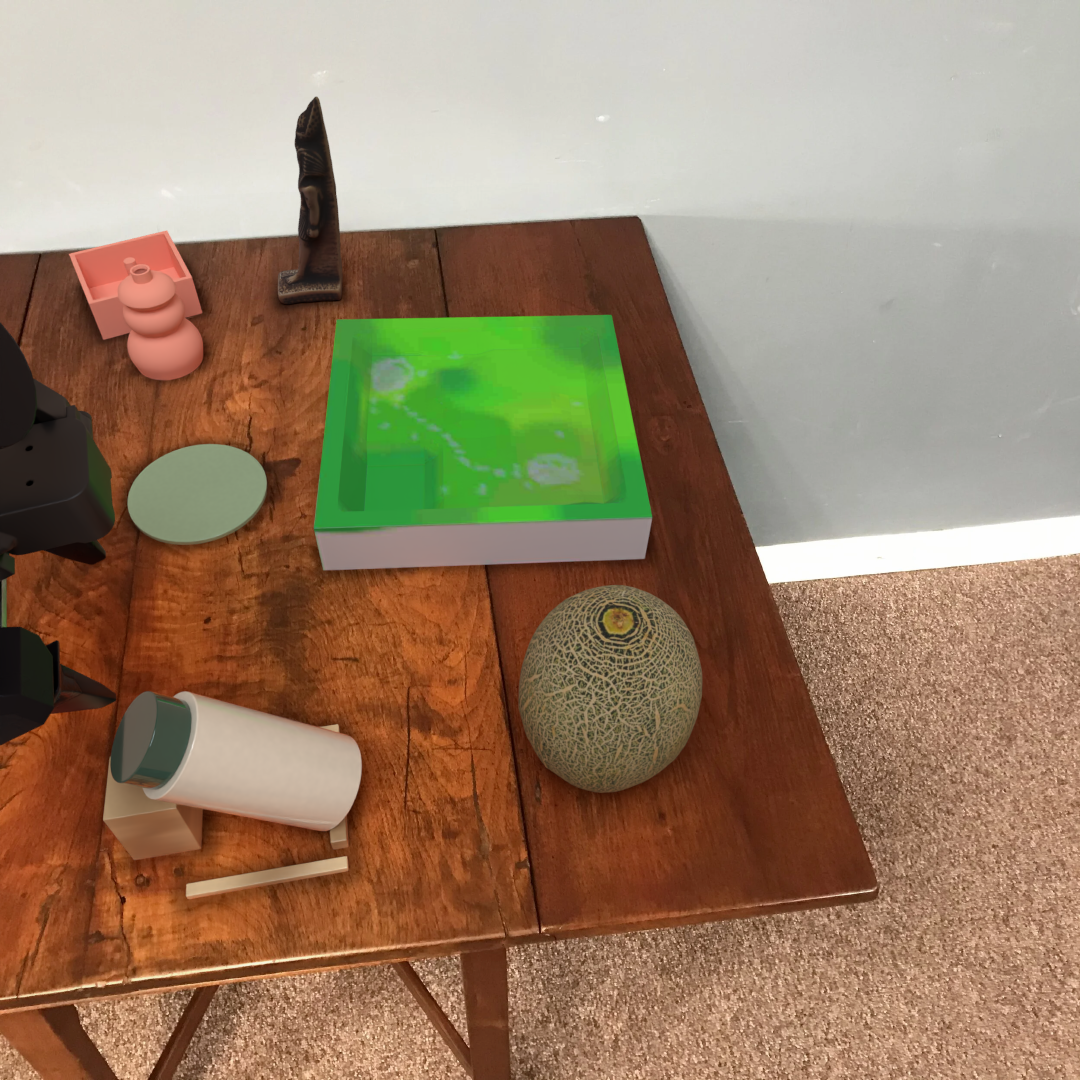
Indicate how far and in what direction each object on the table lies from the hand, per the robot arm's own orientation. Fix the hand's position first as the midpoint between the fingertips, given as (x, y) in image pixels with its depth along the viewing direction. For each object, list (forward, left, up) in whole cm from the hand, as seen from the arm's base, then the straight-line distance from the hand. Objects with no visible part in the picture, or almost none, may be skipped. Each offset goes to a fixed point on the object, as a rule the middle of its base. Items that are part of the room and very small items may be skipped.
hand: (104, 626), depth 51 cm
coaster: (+7, +22, -14) cm, 28 cm away
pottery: (+8, +46, -15) cm, 49 cm away
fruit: (+26, -12, -15) cm, 32 cm away
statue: (+24, +45, -15) cm, 53 cm away
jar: (+4, -7, -14) cm, 16 cm away
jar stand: (+3, -6, -14) cm, 16 cm away
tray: (+30, +17, -14) cm, 37 cm away
